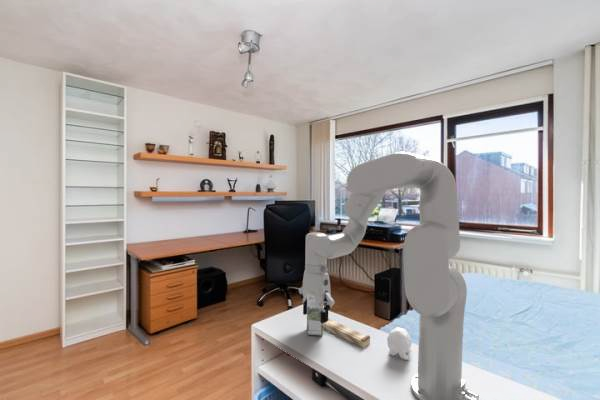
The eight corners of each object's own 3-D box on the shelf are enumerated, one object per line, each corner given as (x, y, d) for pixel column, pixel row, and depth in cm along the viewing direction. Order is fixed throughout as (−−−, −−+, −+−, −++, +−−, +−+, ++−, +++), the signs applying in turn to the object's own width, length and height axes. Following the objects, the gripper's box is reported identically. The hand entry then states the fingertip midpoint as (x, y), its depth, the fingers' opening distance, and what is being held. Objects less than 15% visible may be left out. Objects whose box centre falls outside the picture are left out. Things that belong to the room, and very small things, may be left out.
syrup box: (323, 328, 99) (323, 288, 99) (323, 336, 93) (323, 294, 93) (307, 327, 100) (308, 287, 99) (306, 335, 94) (306, 293, 94)
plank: (369, 343, 90) (370, 336, 90) (363, 347, 87) (363, 340, 87) (320, 319, 106) (321, 313, 106) (314, 322, 104) (314, 316, 103)
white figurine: (386, 328, 82) (396, 317, 92) (385, 357, 82) (395, 343, 92) (408, 334, 79) (416, 322, 89) (407, 365, 78) (415, 349, 88)
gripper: (342, 271, 92) (341, 323, 92) (306, 261, 105) (306, 307, 105) (327, 275, 87) (326, 330, 87) (291, 264, 100) (291, 312, 100)
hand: (315, 317), depth 96 cm, fingers closed on syrup box, 8 cm apart
